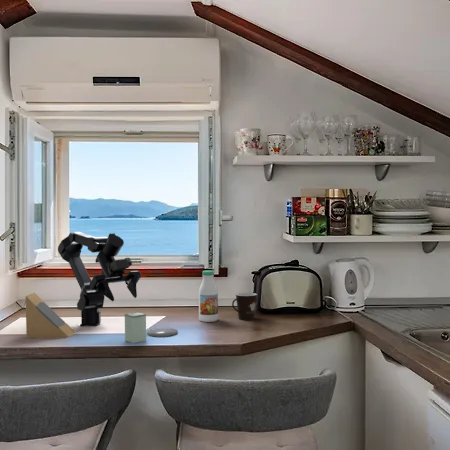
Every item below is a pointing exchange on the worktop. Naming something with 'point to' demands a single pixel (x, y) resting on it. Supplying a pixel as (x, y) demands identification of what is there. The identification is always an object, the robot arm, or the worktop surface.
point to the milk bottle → (208, 298)
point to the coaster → (162, 332)
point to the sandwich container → (44, 320)
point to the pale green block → (135, 327)
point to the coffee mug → (245, 305)
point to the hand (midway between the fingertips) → (124, 298)
